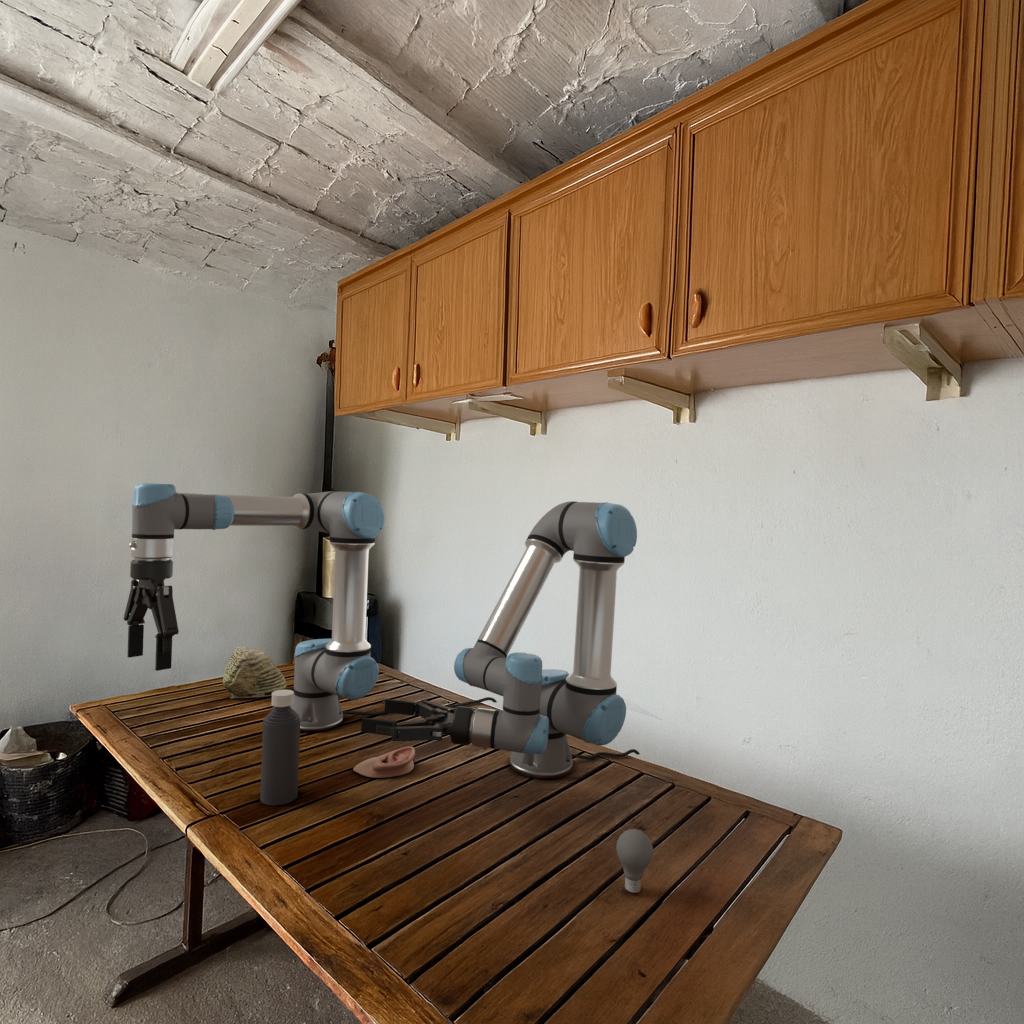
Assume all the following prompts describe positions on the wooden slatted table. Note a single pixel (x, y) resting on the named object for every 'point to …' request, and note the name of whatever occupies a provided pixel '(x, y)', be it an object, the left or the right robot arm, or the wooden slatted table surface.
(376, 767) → the anatomical model
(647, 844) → the light bulb
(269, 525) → the left robot arm
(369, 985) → the wooden slatted table surface
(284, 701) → the cap
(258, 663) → the fossil
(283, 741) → the bottle
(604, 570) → the right robot arm
